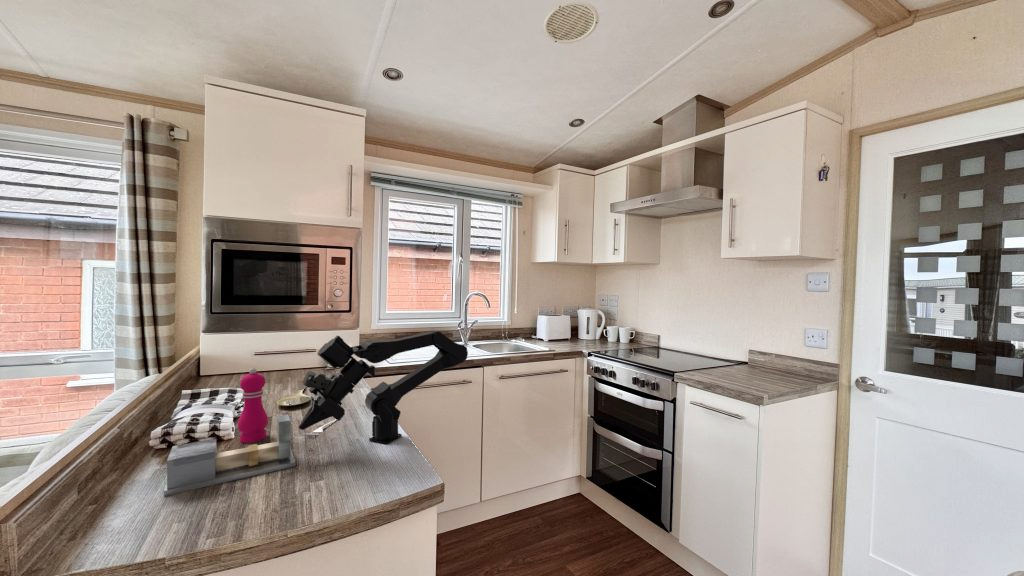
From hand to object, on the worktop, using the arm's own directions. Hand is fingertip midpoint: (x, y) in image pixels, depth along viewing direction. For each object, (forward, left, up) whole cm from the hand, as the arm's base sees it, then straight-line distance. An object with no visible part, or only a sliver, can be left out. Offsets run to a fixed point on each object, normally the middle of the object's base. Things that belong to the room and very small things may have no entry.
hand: (300, 428), depth 101 cm
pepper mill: (+23, -3, -7) cm, 24 cm away
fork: (+12, -19, -8) cm, 24 cm away
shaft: (+5, +9, -6) cm, 12 cm away
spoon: (+48, -37, -8) cm, 61 cm away
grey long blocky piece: (+7, +12, -7) cm, 15 cm away
